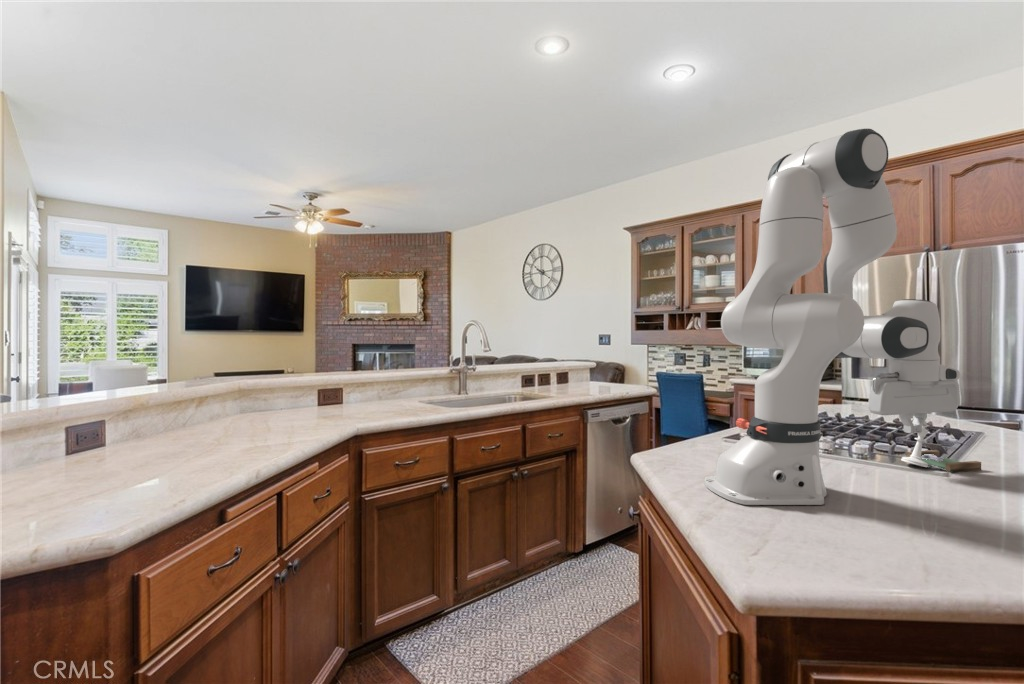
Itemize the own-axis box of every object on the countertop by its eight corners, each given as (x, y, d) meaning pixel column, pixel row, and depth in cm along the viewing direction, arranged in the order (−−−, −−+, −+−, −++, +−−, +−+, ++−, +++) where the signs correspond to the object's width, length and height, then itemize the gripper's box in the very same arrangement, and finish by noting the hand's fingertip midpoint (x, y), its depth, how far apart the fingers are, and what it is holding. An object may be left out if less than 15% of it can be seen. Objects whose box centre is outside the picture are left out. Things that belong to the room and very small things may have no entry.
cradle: (950, 472, 105) (950, 464, 105) (906, 459, 115) (906, 452, 115) (981, 470, 106) (981, 462, 106) (935, 457, 116) (935, 450, 116)
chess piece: (933, 469, 107) (944, 425, 107) (908, 463, 108) (919, 419, 107) (919, 464, 111) (929, 422, 111) (895, 458, 112) (906, 417, 112)
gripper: (886, 375, 104) (885, 438, 104) (966, 371, 107) (965, 433, 108) (860, 372, 110) (860, 432, 111) (937, 368, 113) (936, 426, 114)
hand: (912, 432), depth 109 cm, fingers closed
